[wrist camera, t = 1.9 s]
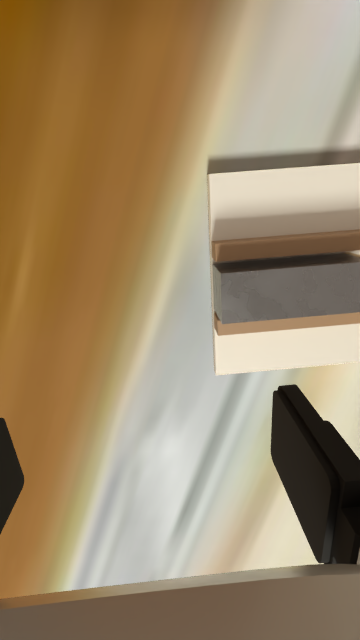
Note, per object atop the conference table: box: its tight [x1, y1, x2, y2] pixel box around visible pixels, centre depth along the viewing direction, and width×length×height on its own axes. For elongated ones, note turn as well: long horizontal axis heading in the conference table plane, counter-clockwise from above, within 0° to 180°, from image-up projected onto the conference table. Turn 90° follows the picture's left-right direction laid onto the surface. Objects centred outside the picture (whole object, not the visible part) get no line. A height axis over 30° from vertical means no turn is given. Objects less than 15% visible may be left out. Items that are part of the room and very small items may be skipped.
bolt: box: [212, 252, 360, 324], centre depth 25 cm, size 12×4×4 cm, turn 94°
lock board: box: [207, 163, 360, 375], centre depth 26 cm, size 23×18×5 cm
